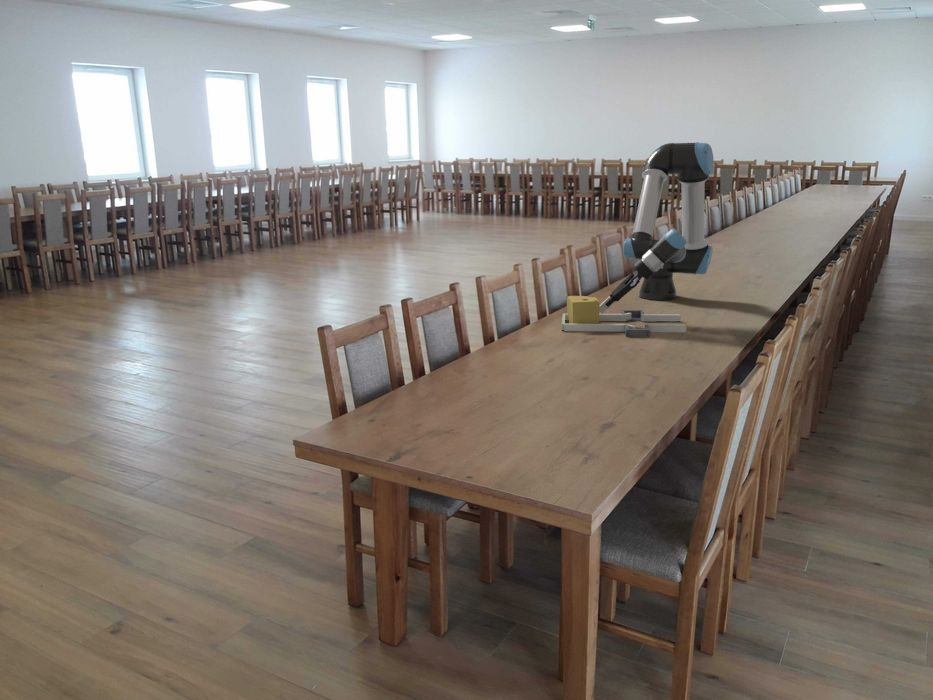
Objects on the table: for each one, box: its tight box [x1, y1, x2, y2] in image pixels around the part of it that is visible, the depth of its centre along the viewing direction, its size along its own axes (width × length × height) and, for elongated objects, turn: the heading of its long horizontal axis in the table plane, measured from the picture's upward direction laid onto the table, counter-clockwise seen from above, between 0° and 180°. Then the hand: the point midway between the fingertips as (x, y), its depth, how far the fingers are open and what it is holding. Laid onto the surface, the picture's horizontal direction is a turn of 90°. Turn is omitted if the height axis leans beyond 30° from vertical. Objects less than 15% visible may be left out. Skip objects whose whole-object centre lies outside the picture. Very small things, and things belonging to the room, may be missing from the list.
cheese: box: [566, 295, 600, 324], centre depth 274 cm, size 10×11×10 cm
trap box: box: [561, 309, 687, 338], centre depth 273 cm, size 29×43×2 cm
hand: (599, 310), depth 275 cm, fingers closed
